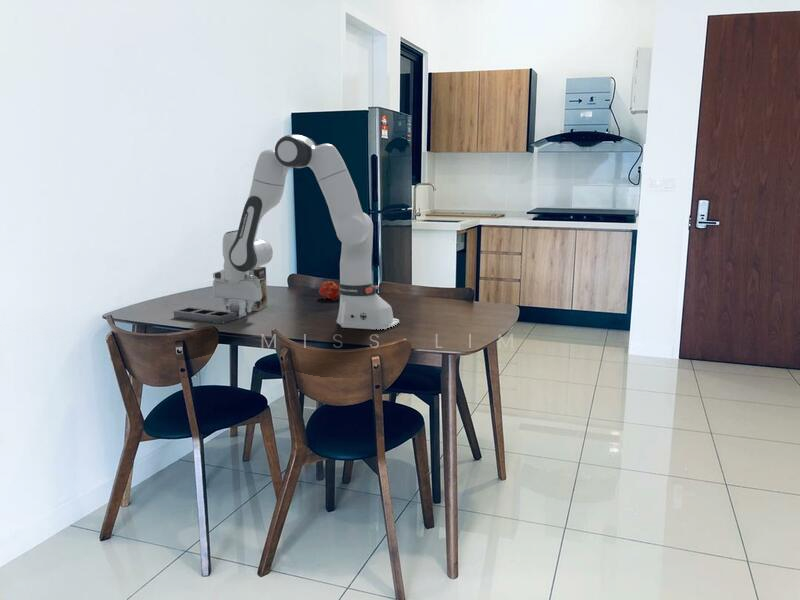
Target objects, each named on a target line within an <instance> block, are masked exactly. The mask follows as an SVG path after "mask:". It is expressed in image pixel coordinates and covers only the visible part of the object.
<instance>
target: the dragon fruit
mask: <svg viewBox="0 0 800 600" xmlns="http://www.w3.org/2000/svg"><path fill="white" fill-rule="evenodd" d="M317 292H318V294H320V295H321V296H322V297H323V300H326V299H327V298H328V299H329V300H332V301H337V300H339V299H337V298H340V296H339V284H338V283H335V282H334V281H332V280H331V281H330V280H326V281H324V282H322V284H320V286H319V290H318V291H317ZM328 299H327V300H328Z"/></svg>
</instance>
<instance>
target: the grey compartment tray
mask: <svg viewBox="0 0 800 600" xmlns="http://www.w3.org/2000/svg"><path fill="white" fill-rule="evenodd" d="M173 318H174V319H179V318H182V319H181V320H186V319H188V321H194V320H196V322H202V321H207V322H206V323H210V322H215V323H214V324H217V323H222V324H224V323H223V322H226V321H229V320H232V319H235V318H236V313H235V312H230V311H227V310H226V311H225V310H219V309H218V310H217V309H207V308H199V307H193V306H192V307H190V306H188V307H185V308H181V309H178V310H174V311H173ZM236 319H237V318H236ZM236 319H235V320H236ZM232 321H233V320H232ZM229 322H230V321H229ZM226 323H227V322H226Z"/></svg>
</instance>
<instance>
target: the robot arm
mask: <svg viewBox="0 0 800 600" xmlns="http://www.w3.org/2000/svg"><path fill="white" fill-rule="evenodd" d="M306 167H309V168H310V170H311V171H312V172H313V174H314V176H315V178H316V181H317V183H318V186H319V187H320V190H321V192H322V194H323V196H324V199H325V203H326V204H327V206H328V210H329V211H328V212H329V214H330V218H331V222H332V224H333V227H334V230H335V233H336V237H337V239H338V240H339V241H340V242H341V250H340V252H341V253H340V260H339V280H340V281H339V296H340V297H339V309H338V314H337V318H336V324H338V325H340V328H343V329H344V328H347V329H363V330H376V329H377V330H378V331H379V330H380V329H381V330H380V331H383V330H382V329H384V330H388V329H387V328H389V329H391V328H390V327H392V328H394V327H396V326H398V325H399V324H400V319H398V318H395V317H394V313H393V309H392V306H391V304H389V303H388V302H387V301H386V300H384V299H383V298H382V297H381V296H380V295H378V294H377V289H379V285H374V283H373V282H372V281H373V279H372V259H373V258H372V255H373V244H374V243H373V240H374V239H373V238H374V223H373V221H372V218H371V217H370V216H369V214H367V213H365V212H363V209H362V205H361V202H360V199H359V196H358V190H357V189H356V186H355V184H354V181H353V179H352V177H351V174H350V172H349V169H348V168H347V165H346V163H345V161H344V159H343V157H342V154H340V151H338V149H337V148H336V146H334V145H333V144H330V143H322V144H317V143H316V142H315V141H314V140H313V139H312V138H311V137H309V136H305V135H301V134H288V135H283V136H282V137H281V138H279V139H278V141H277V142H276V144H275V146H274V149H270V148H269V149H265V150H263V151H261V152H260V153H259V156H258V158H257V161H256V163H255V168H254V172H253V176H252V182H251V187H250V190H249V194H248V197H247V200H246V201H245V204H244V207H243V210H242V214H241V218H240V221H239V225H238V229H236V230H231V231H226V232H225V233H224V235H223V237H222V255H223V260H224V262H223V269H221V270H219V271H215V272H213V273H212V279H213V281H212V293H213V294H212V295H213V296H214V297H215V298H217V299H218V298H219V299H222V302H223V304H224V306H225V307H224V308H225V310H226V311H230V301H229V300H246V301H247V303H248V306H247V307H246V308H245V312H246V313H251V312H252V311H251V307H252V305H253V303H254V301H259V300H261V298H262V291H261V286H260V280H259V278H257V276H251V275H249V270H251V269H253V268H256V267H263V266H265V265H267V264H268V263H269V262H271V260H272V259H273V254H274V253H273V248H272V246H271V244H270V243H269V242H268V241H267V240H265V239H261V238H258V237H257V234H258V231H259V230H258V229H259V226H260V223H261V221H262V218H263V217H265V215H266V214H267V213H268V212H269V211H271V210H273V208H276V206H278V205H279V203H280V202H281V200H282V197H283V194H284V190H285V185H286V178H287V175H288V172H289V171H290V170H291V169H302V168H306ZM256 278H257V279H256ZM398 323H399V324H398ZM397 324H398V325H397ZM395 325H396V326H395ZM393 326H394V327H393Z"/></svg>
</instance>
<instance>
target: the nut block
mask: <svg viewBox="0 0 800 600" xmlns="http://www.w3.org/2000/svg"><path fill="white" fill-rule="evenodd" d="M229 304H230V310H229V312H235V313H236V317H242V318H244V317H243V316H245V317H247V312H245V308H246V300H236V299H232V300H231V301H229Z"/></svg>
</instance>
